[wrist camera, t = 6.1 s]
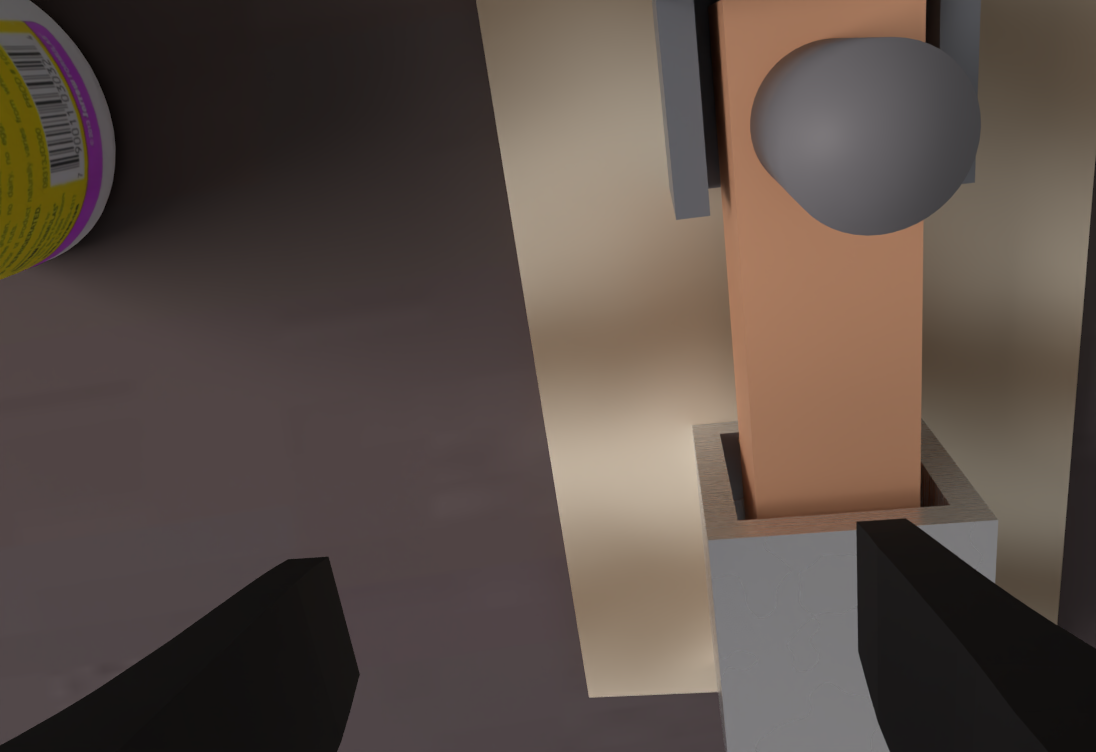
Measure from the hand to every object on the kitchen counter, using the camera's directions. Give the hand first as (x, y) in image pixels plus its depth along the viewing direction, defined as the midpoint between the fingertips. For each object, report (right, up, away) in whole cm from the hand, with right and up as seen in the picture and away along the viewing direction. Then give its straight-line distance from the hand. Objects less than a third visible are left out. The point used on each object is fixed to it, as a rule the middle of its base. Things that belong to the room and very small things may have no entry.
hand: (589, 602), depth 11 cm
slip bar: (+5, +5, +7) cm, 10 cm away
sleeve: (+6, -1, +9) cm, 11 cm away
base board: (+5, +4, +8) cm, 11 cm away
